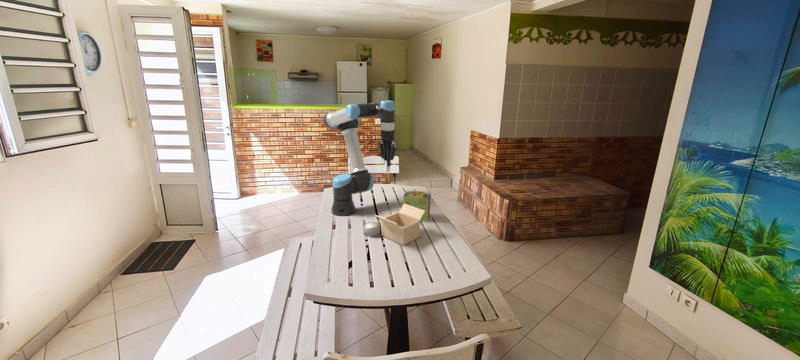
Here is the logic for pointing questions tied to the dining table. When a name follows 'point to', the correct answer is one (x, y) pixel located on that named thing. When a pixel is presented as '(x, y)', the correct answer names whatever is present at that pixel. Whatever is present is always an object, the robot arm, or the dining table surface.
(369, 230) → the push tap light
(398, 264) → the dining table surface
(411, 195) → the protein box
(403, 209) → the flap far
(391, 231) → the carton
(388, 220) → the flap near
